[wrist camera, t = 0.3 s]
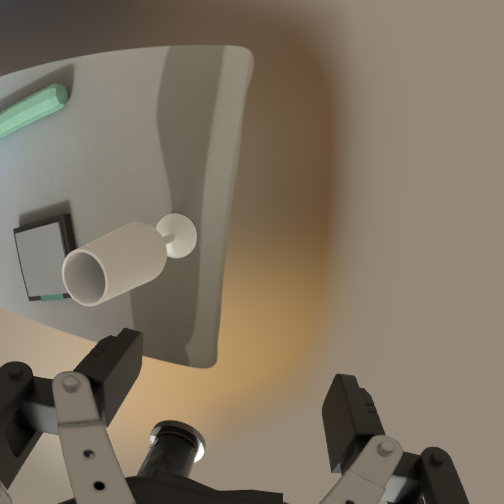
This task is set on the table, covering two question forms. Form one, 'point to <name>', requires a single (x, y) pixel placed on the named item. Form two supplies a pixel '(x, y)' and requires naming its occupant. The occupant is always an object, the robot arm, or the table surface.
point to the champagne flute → (126, 258)
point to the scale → (44, 256)
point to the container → (33, 108)
